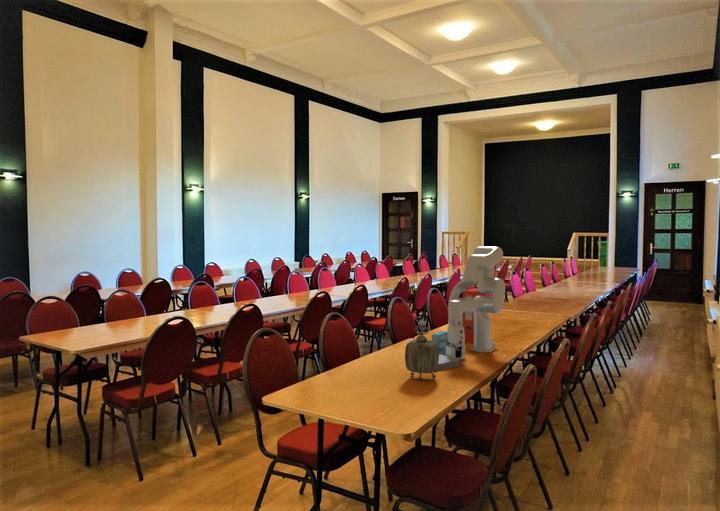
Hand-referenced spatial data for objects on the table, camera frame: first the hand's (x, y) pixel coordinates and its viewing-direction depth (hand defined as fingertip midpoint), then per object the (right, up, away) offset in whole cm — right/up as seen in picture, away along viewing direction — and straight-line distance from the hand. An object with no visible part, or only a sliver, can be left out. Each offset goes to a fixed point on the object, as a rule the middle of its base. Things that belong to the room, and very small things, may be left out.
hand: (455, 356), depth 284 cm
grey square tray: (-11, -2, -13) cm, 17 cm away
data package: (-6, -1, +11) cm, 13 cm away
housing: (0, -2, 0) cm, 2 cm away
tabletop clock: (-23, -4, -37) cm, 44 cm away
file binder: (+20, +1, +46) cm, 51 cm away
